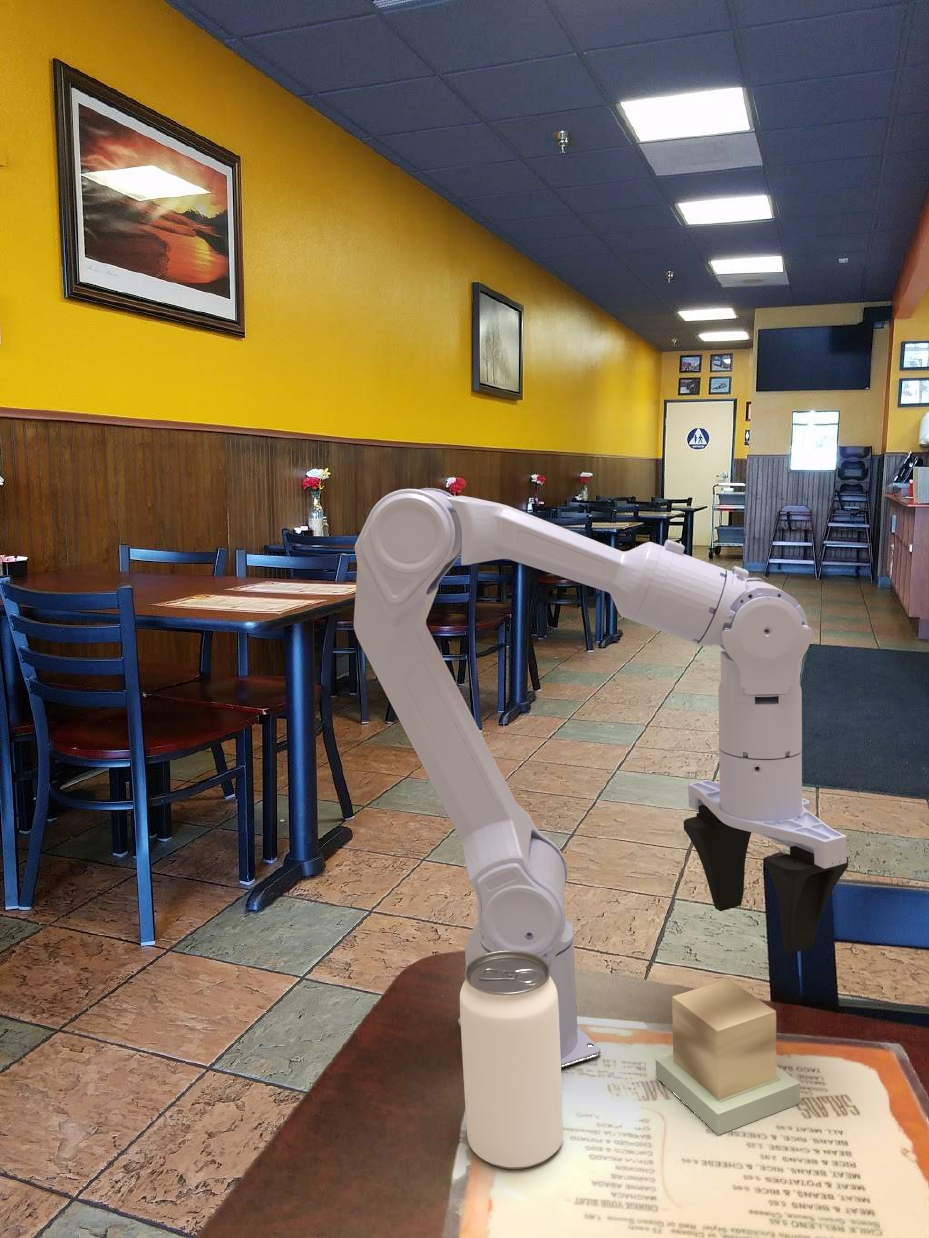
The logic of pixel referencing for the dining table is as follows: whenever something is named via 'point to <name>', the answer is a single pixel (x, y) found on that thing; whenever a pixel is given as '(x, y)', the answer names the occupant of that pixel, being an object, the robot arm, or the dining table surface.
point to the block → (724, 1038)
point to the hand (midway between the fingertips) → (761, 926)
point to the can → (511, 1059)
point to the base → (734, 1107)
